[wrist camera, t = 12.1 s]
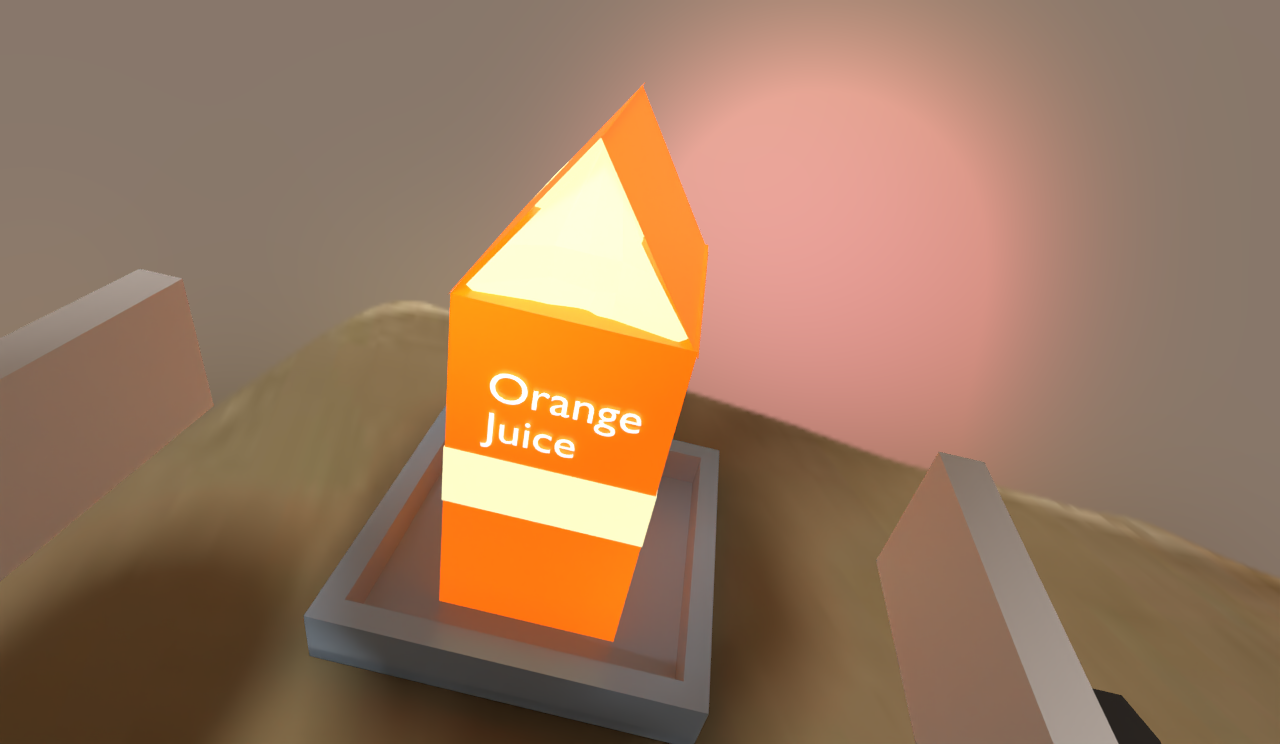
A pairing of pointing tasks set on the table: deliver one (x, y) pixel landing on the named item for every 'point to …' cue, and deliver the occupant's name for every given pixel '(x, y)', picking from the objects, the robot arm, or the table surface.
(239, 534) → the table surface
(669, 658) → the dish
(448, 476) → the orange juice
